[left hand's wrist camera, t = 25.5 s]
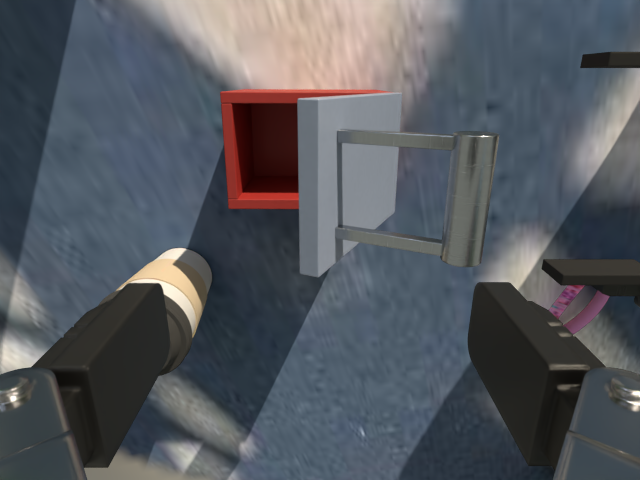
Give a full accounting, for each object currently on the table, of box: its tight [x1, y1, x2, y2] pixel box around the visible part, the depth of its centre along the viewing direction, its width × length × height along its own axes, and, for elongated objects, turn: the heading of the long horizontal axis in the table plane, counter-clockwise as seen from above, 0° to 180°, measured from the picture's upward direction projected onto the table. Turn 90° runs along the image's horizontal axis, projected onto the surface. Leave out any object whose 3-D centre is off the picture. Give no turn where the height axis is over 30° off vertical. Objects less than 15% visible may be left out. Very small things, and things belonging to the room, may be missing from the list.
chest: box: [220, 89, 393, 209], centre depth 41 cm, size 14×10×11 cm
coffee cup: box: [98, 248, 212, 376], centre depth 45 cm, size 9×9×15 cm
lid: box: [297, 93, 499, 278], centre depth 27 cm, size 15×10×10 cm
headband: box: [549, 285, 609, 334], centre depth 52 cm, size 11×4×2 cm, turn 153°
